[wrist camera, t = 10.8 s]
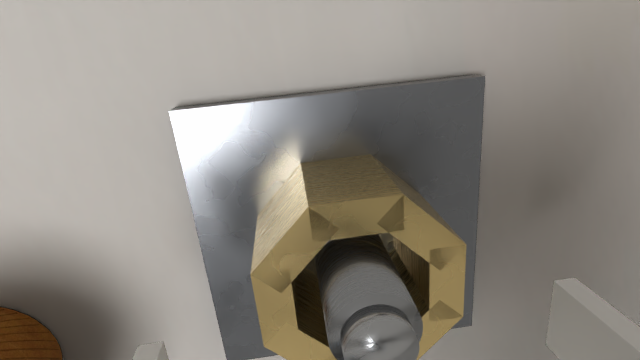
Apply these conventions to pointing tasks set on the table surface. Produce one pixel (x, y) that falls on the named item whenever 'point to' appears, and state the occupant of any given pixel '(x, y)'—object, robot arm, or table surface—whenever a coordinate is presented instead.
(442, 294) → the ring
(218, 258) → the metal peg stand
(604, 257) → the table surface
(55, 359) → the disposable coffee cup
